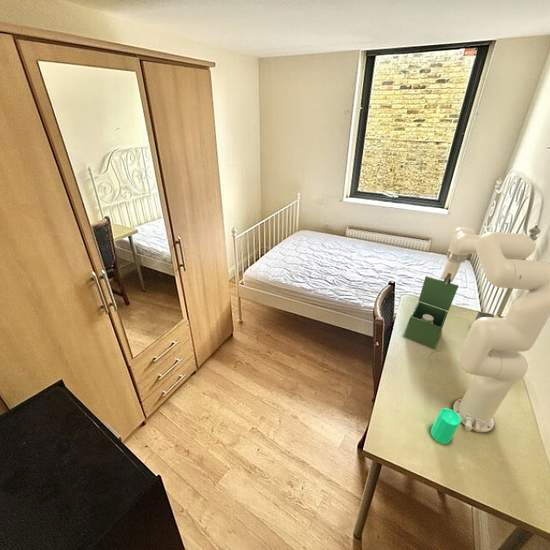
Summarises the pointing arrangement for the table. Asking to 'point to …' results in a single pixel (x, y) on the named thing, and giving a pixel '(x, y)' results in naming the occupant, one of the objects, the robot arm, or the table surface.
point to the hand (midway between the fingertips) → (443, 290)
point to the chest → (425, 324)
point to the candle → (445, 425)
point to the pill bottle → (427, 318)
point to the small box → (483, 315)
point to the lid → (437, 293)
